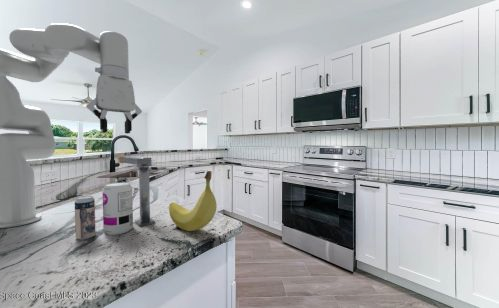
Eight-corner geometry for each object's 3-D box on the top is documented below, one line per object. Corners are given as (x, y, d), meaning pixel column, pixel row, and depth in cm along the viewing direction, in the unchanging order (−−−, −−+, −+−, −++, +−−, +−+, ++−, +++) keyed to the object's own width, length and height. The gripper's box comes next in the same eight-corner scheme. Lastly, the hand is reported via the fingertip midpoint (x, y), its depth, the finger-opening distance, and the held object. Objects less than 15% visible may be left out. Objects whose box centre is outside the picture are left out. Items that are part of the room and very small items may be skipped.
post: (135, 223, 78) (134, 167, 77) (149, 219, 82) (148, 166, 81) (140, 226, 74) (139, 168, 74) (155, 223, 78) (154, 167, 77)
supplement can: (102, 237, 66) (100, 187, 65) (105, 228, 73) (104, 183, 73) (133, 232, 70) (132, 185, 69) (133, 224, 77) (132, 181, 76)
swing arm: (153, 166, 77) (153, 157, 77) (139, 167, 74) (139, 157, 74) (127, 162, 96) (126, 155, 96) (114, 163, 92) (114, 155, 92)
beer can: (85, 241, 63) (83, 199, 63) (71, 239, 64) (70, 198, 64) (99, 234, 68) (98, 195, 67) (86, 233, 69) (85, 195, 68)
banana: (163, 224, 77) (162, 167, 76) (178, 220, 81) (177, 165, 80) (205, 243, 62) (205, 172, 61) (221, 236, 67) (220, 170, 66)
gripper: (83, 65, 61) (85, 131, 61) (148, 78, 73) (149, 133, 73) (78, 71, 66) (80, 132, 67) (139, 83, 78) (140, 134, 79)
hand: (116, 132), depth 70 cm, fingers open, 5 cm apart
